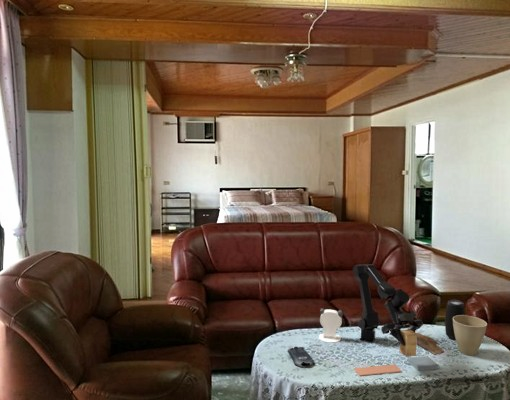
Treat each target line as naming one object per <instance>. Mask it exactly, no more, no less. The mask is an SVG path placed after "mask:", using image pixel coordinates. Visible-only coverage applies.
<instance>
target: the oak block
mask: <svg viewBox="0 0 510 400" xmlns="http://www.w3.org/2000/svg"><path fill="white" fill-rule="evenodd" d="M417 333H418V332H416V331H415V332H414V331H412V330H410V329H407V328H406V329H401V335H402V337H403V339H404V342H405V346H403V345H402V344H401V343H400V342H399V349H398V350H399V353H401V354H402V356H405V358H410V357H415V356H417Z"/></svg>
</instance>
